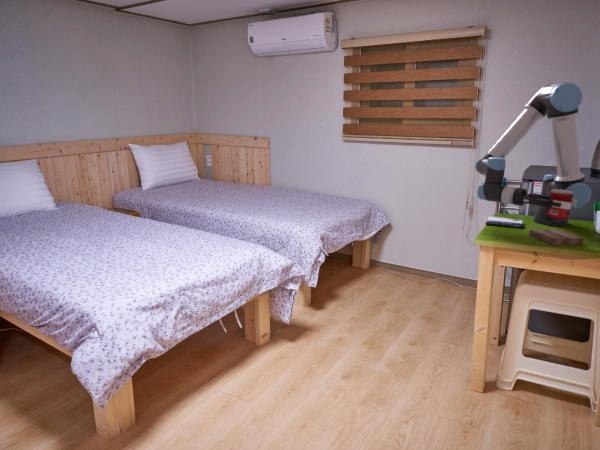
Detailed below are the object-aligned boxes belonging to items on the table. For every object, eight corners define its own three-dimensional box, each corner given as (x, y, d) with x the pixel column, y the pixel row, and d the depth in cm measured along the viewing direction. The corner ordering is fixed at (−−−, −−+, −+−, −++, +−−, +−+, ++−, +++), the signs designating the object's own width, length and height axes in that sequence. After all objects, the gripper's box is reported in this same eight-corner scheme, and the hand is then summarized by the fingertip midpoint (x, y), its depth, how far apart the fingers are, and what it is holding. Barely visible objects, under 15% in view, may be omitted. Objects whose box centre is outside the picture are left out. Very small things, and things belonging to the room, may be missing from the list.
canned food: (571, 220, 184) (576, 193, 181) (550, 218, 185) (554, 191, 183) (564, 215, 191) (569, 189, 188) (544, 214, 193) (548, 188, 190)
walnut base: (557, 234, 199) (558, 228, 198) (582, 243, 186) (583, 237, 185) (528, 235, 196) (529, 230, 195) (552, 245, 183) (553, 239, 182)
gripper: (521, 201, 207) (578, 210, 192) (504, 207, 192) (564, 217, 177) (524, 185, 205) (581, 192, 190) (507, 190, 191) (568, 198, 175)
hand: (573, 204), depth 184 cm, fingers closed on canned food, 8 cm apart
